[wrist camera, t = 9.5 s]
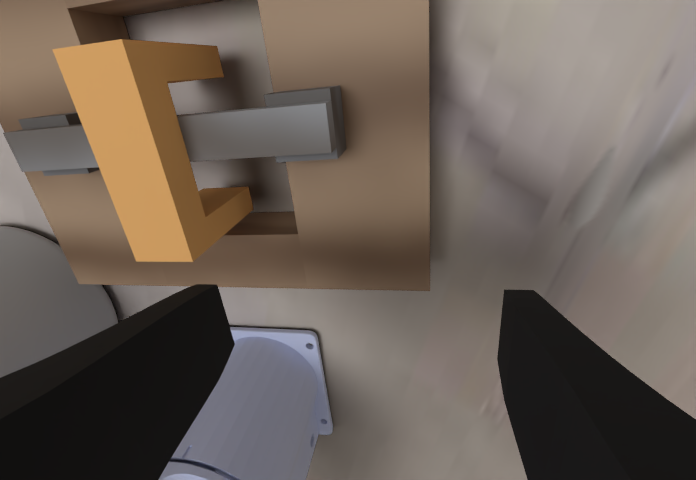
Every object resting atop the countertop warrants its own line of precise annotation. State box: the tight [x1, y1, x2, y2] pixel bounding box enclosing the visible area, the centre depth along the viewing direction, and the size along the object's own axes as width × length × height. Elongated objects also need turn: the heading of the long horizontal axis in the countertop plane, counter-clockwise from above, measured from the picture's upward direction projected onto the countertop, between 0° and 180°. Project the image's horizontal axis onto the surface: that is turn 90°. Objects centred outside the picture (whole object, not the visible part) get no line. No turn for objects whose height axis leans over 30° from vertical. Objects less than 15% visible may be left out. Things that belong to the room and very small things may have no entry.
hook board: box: [0, 0, 430, 291], centre depth 16 cm, size 16×20×6 cm
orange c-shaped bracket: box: [52, 39, 253, 262], centre depth 15 cm, size 7×2×6 cm, turn 6°
